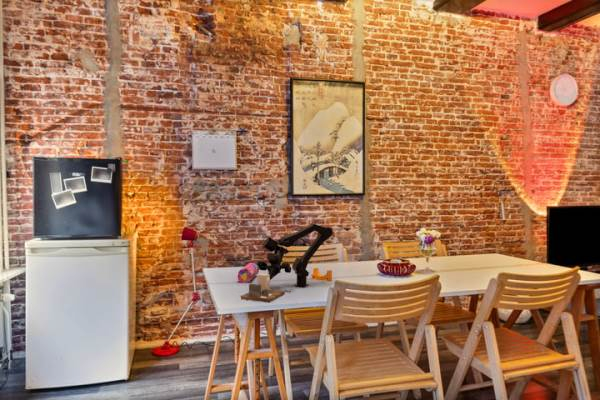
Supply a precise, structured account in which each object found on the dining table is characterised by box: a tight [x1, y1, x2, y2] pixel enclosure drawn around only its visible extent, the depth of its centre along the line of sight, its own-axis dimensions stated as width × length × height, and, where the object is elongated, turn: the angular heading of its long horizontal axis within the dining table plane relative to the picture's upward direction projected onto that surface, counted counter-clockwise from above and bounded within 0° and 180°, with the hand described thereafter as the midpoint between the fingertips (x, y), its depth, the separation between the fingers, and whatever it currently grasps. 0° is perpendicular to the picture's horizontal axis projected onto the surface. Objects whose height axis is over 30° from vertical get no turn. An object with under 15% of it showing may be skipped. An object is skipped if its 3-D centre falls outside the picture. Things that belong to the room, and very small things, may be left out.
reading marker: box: [262, 286, 269, 296], centre depth 217 cm, size 2×3×4 cm, turn 68°
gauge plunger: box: [257, 273, 274, 293], centre depth 224 cm, size 4×8×9 cm, turn 68°
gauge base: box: [240, 283, 285, 303], centre depth 223 cm, size 18×16×8 cm
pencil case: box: [237, 262, 260, 284], centre depth 263 cm, size 22×9×9 cm, turn 175°
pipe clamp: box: [311, 267, 333, 282], centre depth 265 cm, size 12×4×6 cm, turn 54°
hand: (269, 279), depth 231 cm, fingers closed
